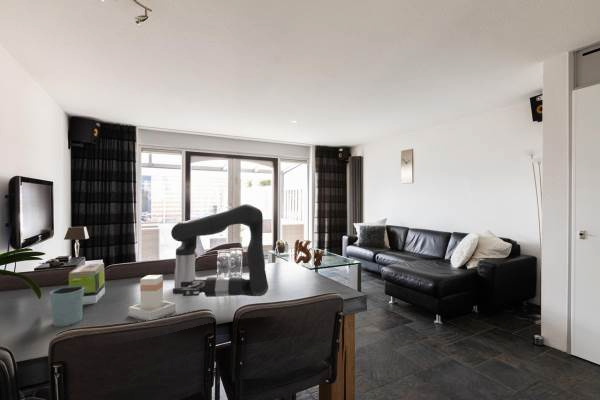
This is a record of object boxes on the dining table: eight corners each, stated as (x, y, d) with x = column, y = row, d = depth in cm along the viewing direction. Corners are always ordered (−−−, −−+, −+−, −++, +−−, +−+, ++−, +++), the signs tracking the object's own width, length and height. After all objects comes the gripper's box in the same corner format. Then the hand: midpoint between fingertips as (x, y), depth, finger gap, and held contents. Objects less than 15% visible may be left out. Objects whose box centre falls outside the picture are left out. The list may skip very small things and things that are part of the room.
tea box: (80, 295, 139) (80, 264, 139) (105, 293, 143) (105, 262, 142) (68, 306, 125) (68, 272, 125) (96, 303, 128) (96, 269, 128)
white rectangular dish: (128, 315, 115) (128, 307, 115) (153, 306, 125) (153, 298, 125) (150, 322, 109) (150, 312, 109) (175, 311, 119) (175, 303, 119)
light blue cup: (60, 329, 103) (60, 295, 103) (43, 324, 107) (43, 291, 107) (90, 318, 113) (90, 287, 113) (73, 314, 117) (73, 284, 116)
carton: (140, 315, 114) (140, 279, 114) (147, 309, 120) (147, 275, 120) (156, 315, 114) (156, 278, 114) (163, 309, 120) (162, 274, 120)
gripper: (221, 273, 126) (183, 273, 125) (214, 282, 111) (170, 283, 110) (222, 290, 126) (183, 291, 125) (214, 302, 111) (170, 303, 110)
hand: (177, 287), depth 118 cm, fingers open, 8 cm apart
